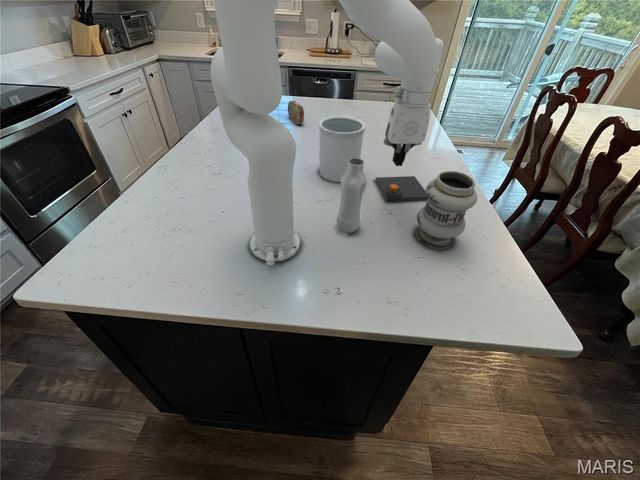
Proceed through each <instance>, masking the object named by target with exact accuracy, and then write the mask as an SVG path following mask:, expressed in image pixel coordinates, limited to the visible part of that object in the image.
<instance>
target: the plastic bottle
mask: <svg viewBox="0 0 640 480" xmlns="http://www.w3.org/2000/svg"><path fill="white" fill-rule="evenodd" d="M364 164H365V161H364V160H363V159H362V158H360V159H358V158H352V159H350V160H349V163H348V171H346V172H345V174H344V175H343V176H342V179H341V182H340V195H341V196H340V206H339V210H338V213H337V216H336V226H337V228H338V229H339V230H340V231H341V232H343V233H348V234H351V233H353V232H356V231H357V230H358V229H359V226H360V224H361V206H362V205H361V204H362V200H363V196H364V193H365V191H366V187H367V182H368V181H367V177H366V175H365V173H364V172H363V171H364V168H365V167H364Z"/></svg>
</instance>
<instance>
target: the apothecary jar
mask: <svg viewBox="0 0 640 480" xmlns="http://www.w3.org/2000/svg"><path fill="white" fill-rule="evenodd" d="M475 187H476V181H475V180H474V178H473V177H471V176H470V175H468V174H466V173H464V172H461V171H455V170H447V171H442V172H440V173H439V174H437V177H436V178H435V179H433V180H431V181H429V183H428V184H427V185H426V188H425V191H426V195H427V197H428V200H426V202H425V205H424V206H423V207H422V208H420V209H419V210H418V212H417V213H416V214H417V215H416V222H417V225H418V227H417V228H416V231H415V236H416V239H417V240H418V241H419V242H420V243H422V244H425V246H426V247H428V248H432V249H434V250H445V249H448V248H450V247H451V246H452V245H453V243H454V238H456V237H458V236H460V235H462V233H464V231H465V230H466V220H465V215H466V212H467V211H468V210H469V209H471V208H473V207H474V206H475V205H476V203H477V202H478V193H477V191H476V189H475Z"/></svg>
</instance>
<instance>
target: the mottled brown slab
mask: <svg viewBox="0 0 640 480" xmlns="http://www.w3.org/2000/svg"><path fill="white" fill-rule="evenodd" d="M287 114H288V117H289V119H290V121H292V122H293V123H294V124H295V125H296V126H297V125H302V124H303V123H304V122H305V121H304V120H305V110H304V107H303V106H302V105H301V104H300V103H299V102H297V100H289V101H288V104H287Z"/></svg>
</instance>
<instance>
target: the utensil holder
mask: <svg viewBox="0 0 640 480" xmlns="http://www.w3.org/2000/svg"><path fill="white" fill-rule="evenodd" d="M318 130H319V149H318V151H319V154H318V155H319V157H318V159H319V161H318V162H319V164H318V166H319V167H318V168H319V175H320V176H321V177H322V178H323V179H325V180H326V181H329V182H333V183H341V179H342V176H343V175H344V174H345V172H346V171H348V163H349V160H350V159H352V158H358V159H361V155H362V148H363V142H364V141H363V138H364V132H365V131H366V124H365V122H364V121H363V120H361V119H359V118H357V117H354V116H349V115H330V116H327V117H326V116H325V117H323V118H322V119H320V120H319V122H318Z"/></svg>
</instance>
